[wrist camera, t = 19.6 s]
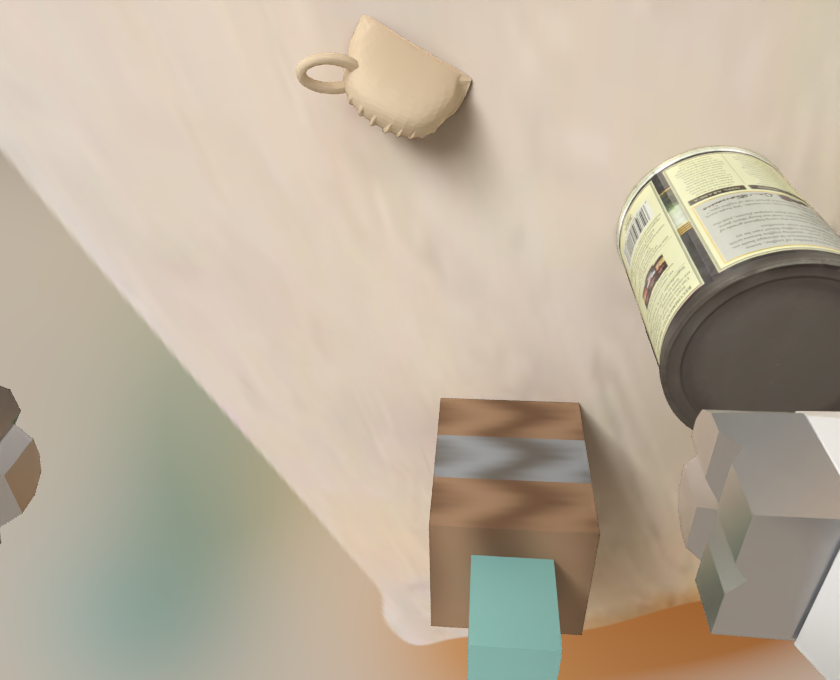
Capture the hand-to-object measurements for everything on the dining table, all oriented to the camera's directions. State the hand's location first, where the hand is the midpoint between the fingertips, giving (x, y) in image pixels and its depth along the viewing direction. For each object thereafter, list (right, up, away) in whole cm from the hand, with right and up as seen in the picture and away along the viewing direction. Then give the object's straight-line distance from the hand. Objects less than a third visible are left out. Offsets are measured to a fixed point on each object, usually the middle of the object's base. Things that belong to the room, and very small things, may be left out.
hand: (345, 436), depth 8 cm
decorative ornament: (0, +16, +31) cm, 35 cm away
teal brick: (+7, -14, +36) cm, 39 cm away
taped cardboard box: (+8, -7, +46) cm, 47 cm away
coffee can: (+18, +8, +34) cm, 40 cm away
